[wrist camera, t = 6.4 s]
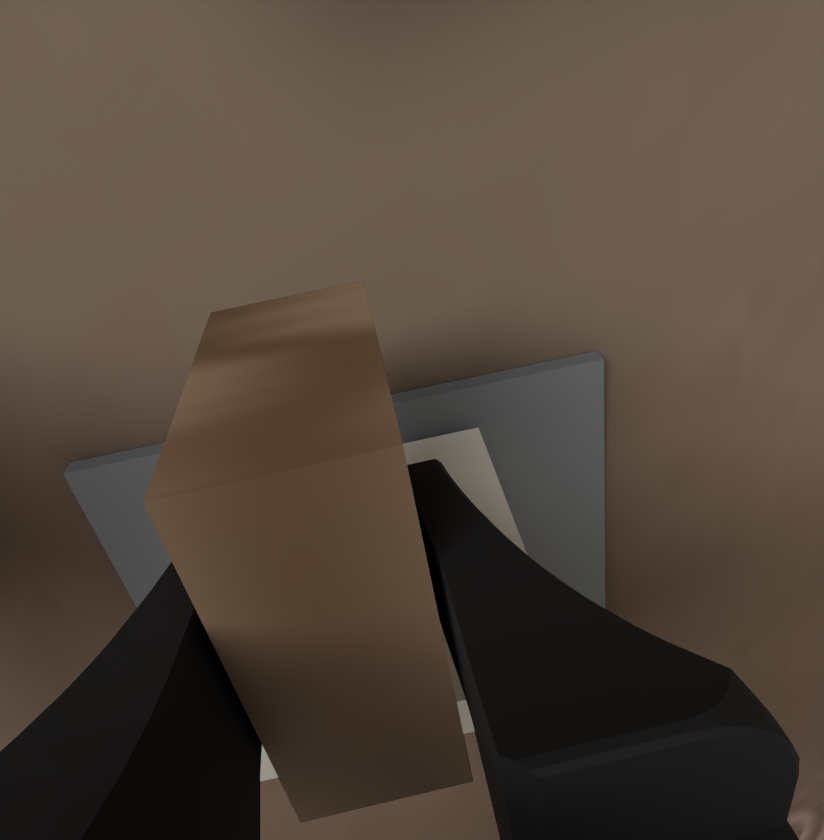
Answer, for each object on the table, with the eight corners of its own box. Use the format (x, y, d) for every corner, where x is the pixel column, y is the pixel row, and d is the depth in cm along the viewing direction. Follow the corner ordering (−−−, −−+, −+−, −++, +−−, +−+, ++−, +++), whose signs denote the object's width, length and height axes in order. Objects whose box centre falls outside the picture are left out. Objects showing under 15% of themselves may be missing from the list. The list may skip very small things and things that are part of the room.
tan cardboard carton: (302, 572, 16) (300, 822, 11) (210, 312, 12) (142, 502, 7) (420, 546, 16) (473, 781, 11) (363, 280, 12) (403, 445, 7)
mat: (234, 768, 27) (232, 782, 27) (69, 462, 19) (62, 473, 18) (600, 683, 28) (605, 695, 27) (596, 350, 19) (604, 359, 19)
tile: (232, 520, 20) (212, 795, 14) (214, 484, 19) (185, 764, 13) (482, 466, 20) (571, 712, 14) (478, 427, 19) (573, 674, 13)
